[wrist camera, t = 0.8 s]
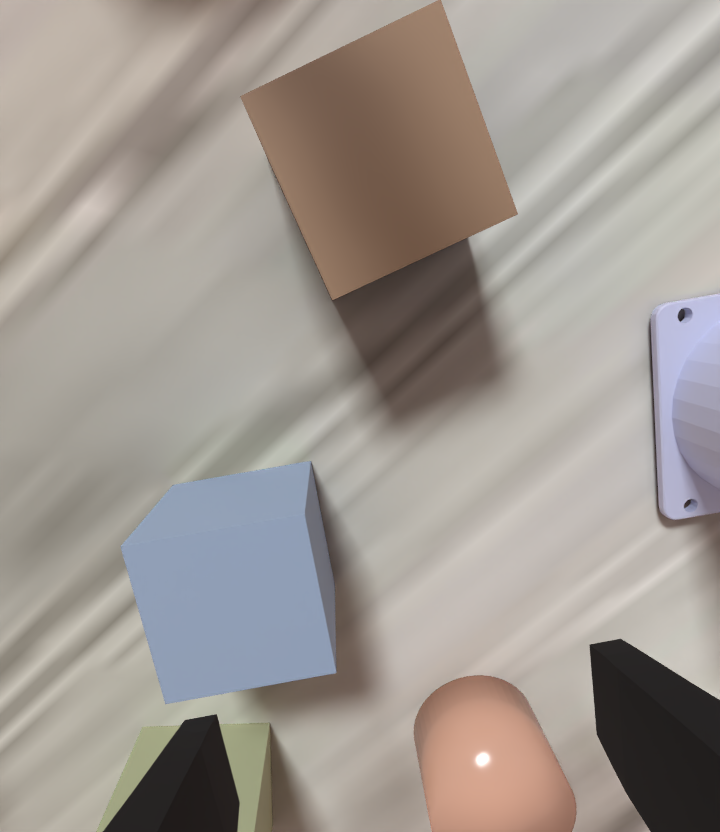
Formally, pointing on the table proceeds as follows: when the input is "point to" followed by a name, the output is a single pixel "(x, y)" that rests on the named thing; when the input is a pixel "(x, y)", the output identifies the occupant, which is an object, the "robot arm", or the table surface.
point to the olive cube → (246, 762)
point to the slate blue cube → (235, 583)
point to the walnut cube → (382, 151)
